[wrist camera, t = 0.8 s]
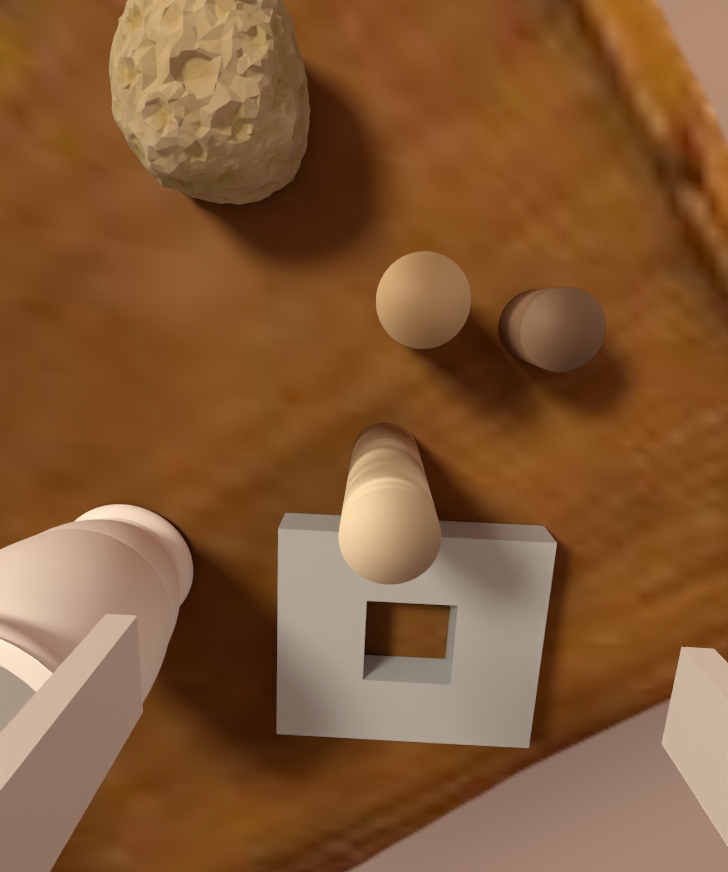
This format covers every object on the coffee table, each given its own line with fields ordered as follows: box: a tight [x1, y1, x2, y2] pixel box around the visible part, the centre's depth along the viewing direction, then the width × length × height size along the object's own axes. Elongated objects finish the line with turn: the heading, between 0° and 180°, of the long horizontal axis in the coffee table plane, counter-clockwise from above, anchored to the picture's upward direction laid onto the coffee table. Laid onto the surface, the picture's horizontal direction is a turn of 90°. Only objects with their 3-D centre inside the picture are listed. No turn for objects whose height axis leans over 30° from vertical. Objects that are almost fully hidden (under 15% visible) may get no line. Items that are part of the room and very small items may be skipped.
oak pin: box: [376, 251, 471, 349], centre depth 27 cm, size 4×4×8 cm
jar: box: [0, 504, 193, 733], centre depth 28 cm, size 11×10×15 cm
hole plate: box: [277, 513, 557, 748], centre depth 34 cm, size 16×14×2 cm
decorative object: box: [109, 0, 311, 205], centre depth 26 cm, size 9×10×10 cm
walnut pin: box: [499, 287, 606, 372], centre depth 28 cm, size 4×4×5 cm
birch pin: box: [338, 423, 441, 585], centre depth 27 cm, size 4×4×12 cm
